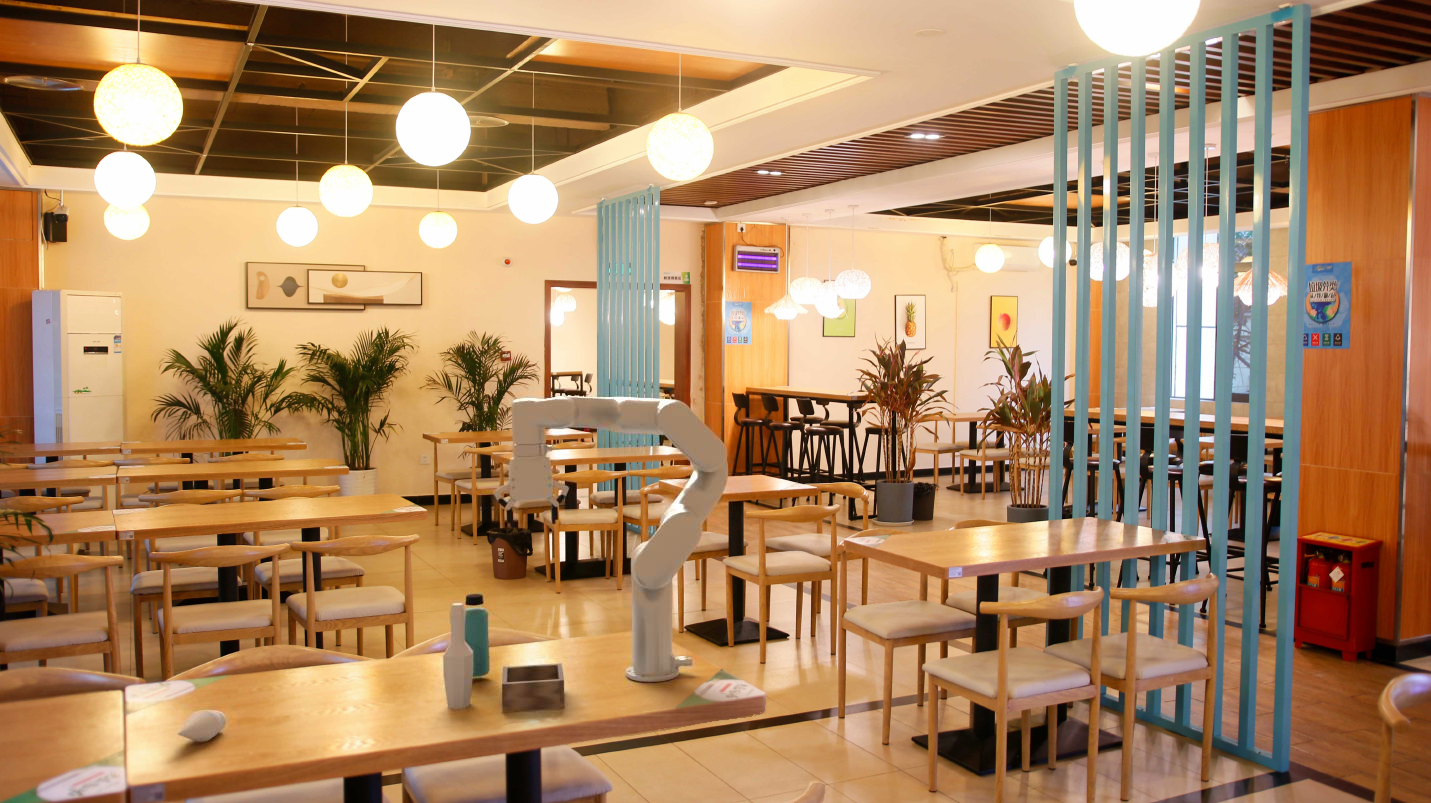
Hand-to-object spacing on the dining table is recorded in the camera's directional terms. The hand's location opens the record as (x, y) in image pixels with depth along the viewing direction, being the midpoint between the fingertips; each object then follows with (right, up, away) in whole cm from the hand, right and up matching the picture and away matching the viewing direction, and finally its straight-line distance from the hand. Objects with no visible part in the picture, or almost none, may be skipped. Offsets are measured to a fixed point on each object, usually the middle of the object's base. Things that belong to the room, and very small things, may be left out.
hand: (532, 524), depth 237 cm
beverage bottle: (-14, -37, +1) cm, 39 cm away
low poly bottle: (-13, -37, -18) cm, 43 cm away
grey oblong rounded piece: (-58, -38, -39) cm, 79 cm away
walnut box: (+3, -37, -15) cm, 40 cm away
